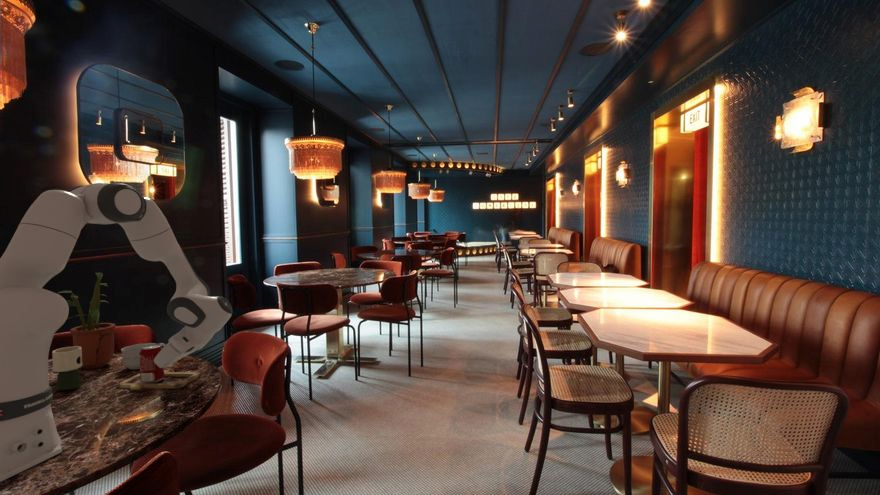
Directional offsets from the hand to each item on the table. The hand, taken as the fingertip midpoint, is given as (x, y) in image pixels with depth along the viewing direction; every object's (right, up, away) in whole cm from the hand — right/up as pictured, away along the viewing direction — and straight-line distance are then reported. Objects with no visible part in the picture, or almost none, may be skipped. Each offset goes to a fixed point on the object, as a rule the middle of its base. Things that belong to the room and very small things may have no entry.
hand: (166, 365), depth 144 cm
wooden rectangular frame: (-2, -5, 0) cm, 6 cm away
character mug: (-28, -6, -6) cm, 29 cm away
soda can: (-5, -6, +1) cm, 8 cm away
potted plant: (-37, -5, +13) cm, 40 cm away
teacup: (-18, -5, +16) cm, 24 cm away
